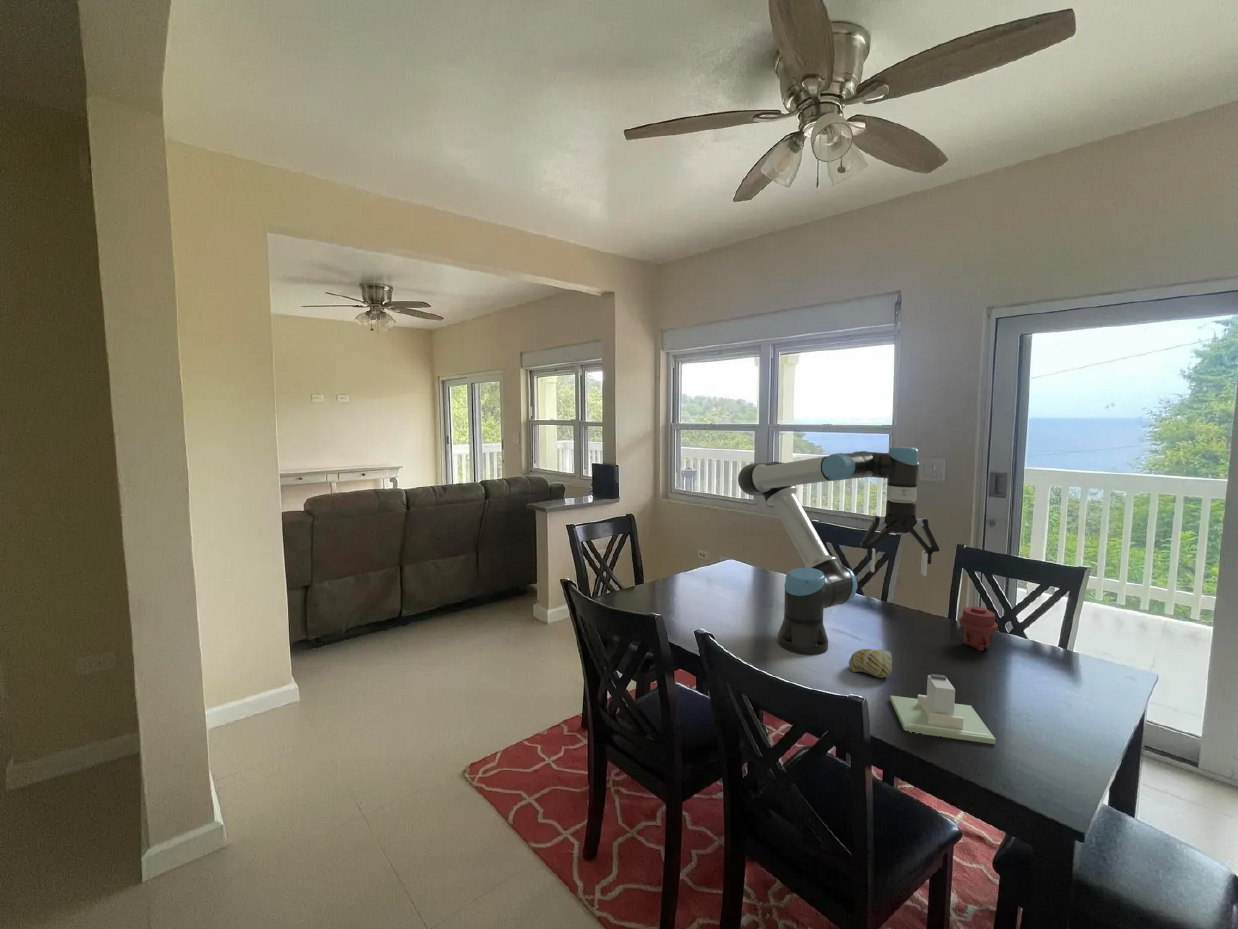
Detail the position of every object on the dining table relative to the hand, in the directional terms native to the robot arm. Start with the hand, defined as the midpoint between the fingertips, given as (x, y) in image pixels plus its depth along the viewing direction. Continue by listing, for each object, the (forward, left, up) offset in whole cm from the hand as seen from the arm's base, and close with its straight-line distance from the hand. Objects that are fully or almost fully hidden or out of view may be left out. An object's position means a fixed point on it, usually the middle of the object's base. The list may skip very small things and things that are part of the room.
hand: (897, 573), depth 153 cm
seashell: (-8, -10, -27) cm, 30 cm away
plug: (+3, -31, -25) cm, 40 cm away
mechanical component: (+28, +18, -27) cm, 43 cm away
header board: (+3, -31, -27) cm, 41 cm away
